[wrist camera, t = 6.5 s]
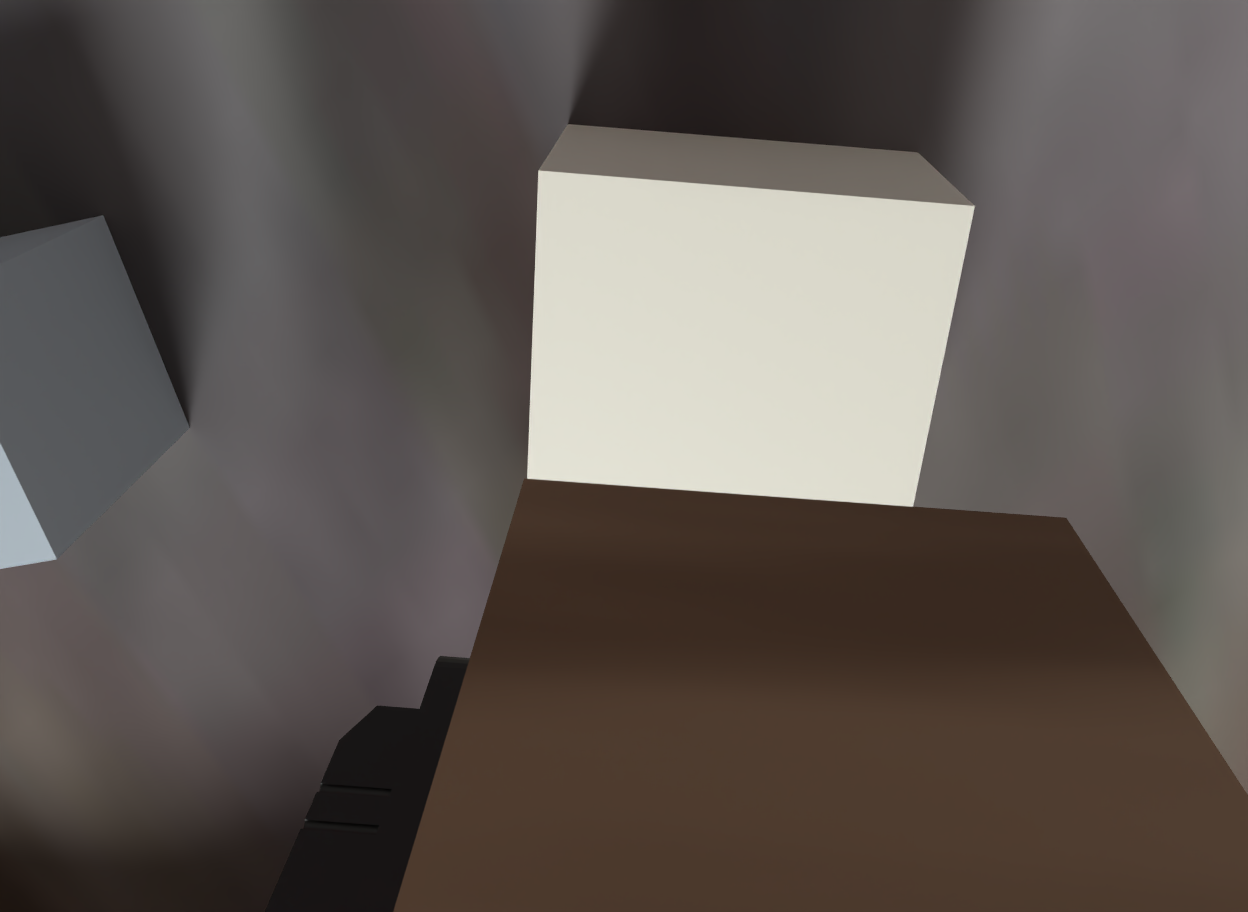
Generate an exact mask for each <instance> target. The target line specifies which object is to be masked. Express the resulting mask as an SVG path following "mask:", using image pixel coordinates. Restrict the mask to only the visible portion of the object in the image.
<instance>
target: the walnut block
mask: <svg viewBox="0 0 1248 912" xmlns="http://www.w3.org/2000/svg"><path fill="white" fill-rule="evenodd" d="M393 912H1248V795H1247V793H1246V792H1245V790H1244V789H1243V787H1242V786H1241V784H1240V783H1239V781H1238V780H1237V778H1236V777H1235V775H1234V773H1233V772H1232V770H1231V769H1230V767H1229V766H1228V764H1227V763H1226V761H1225V760H1224V758H1223V757H1222V755H1221V754H1220V752H1219V751H1218V749H1217V747H1216V746H1215V744H1214V743H1213V741H1212V740H1211V738H1210V737H1209V735H1208V734H1207V732H1206V731H1205V729H1204V728H1203V726H1202V725H1201V723H1200V722H1199V720H1198V718H1197V717H1196V715H1195V714H1194V712H1193V711H1192V709H1191V708H1190V706H1189V705H1188V703H1187V702H1186V700H1185V699H1184V697H1183V696H1182V694H1181V692H1180V691H1179V689H1178V688H1177V686H1176V685H1175V683H1174V682H1173V680H1172V679H1171V677H1170V676H1169V674H1168V673H1167V671H1166V670H1165V668H1164V667H1163V665H1162V663H1161V662H1160V660H1159V659H1158V657H1157V656H1156V654H1155V653H1154V651H1153V650H1152V648H1151V647H1150V645H1149V644H1148V642H1147V641H1146V639H1145V637H1144V636H1143V634H1142V633H1141V631H1140V630H1139V628H1138V627H1137V625H1136V624H1135V622H1134V621H1133V619H1132V618H1131V616H1130V615H1129V613H1128V612H1127V610H1126V608H1125V607H1124V605H1123V604H1122V602H1121V601H1120V599H1119V598H1118V596H1117V595H1116V593H1115V592H1114V590H1113V589H1112V587H1111V586H1110V584H1109V582H1108V581H1107V579H1106V578H1105V576H1104V575H1103V573H1102V572H1101V570H1100V569H1099V567H1098V566H1097V564H1096V563H1095V561H1094V560H1093V558H1092V557H1091V555H1090V553H1089V552H1088V550H1087V549H1086V547H1085V546H1084V544H1083V543H1082V541H1081V540H1080V538H1079V537H1078V535H1077V534H1076V532H1075V531H1074V529H1073V527H1072V526H1071V524H1070V523H1069V521H1068V520H1067V518H1061V517H1047V516H1033V515H1020V514H1006V513H992V512H978V511H965V510H951V509H937V508H923V507H910V506H896V505H882V504H868V503H855V502H841V501H827V500H813V499H800V498H786V497H772V496H759V495H745V494H731V493H717V492H704V491H690V490H676V489H662V488H649V487H635V486H621V485H607V484H594V483H580V482H566V481H552V480H539V479H525V478H524V481H523V484H522V488H521V491H520V494H519V498H518V501H517V504H516V508H515V511H514V514H513V518H512V521H511V524H510V527H509V531H508V534H507V537H506V541H505V544H504V547H503V551H502V554H501V557H500V560H499V564H498V567H497V570H496V574H495V577H494V580H493V584H492V587H491V590H490V594H489V597H488V600H487V603H486V607H485V610H484V613H483V617H482V620H481V623H480V627H479V630H478V633H477V637H476V640H475V643H474V646H473V650H472V653H471V656H470V660H469V663H468V666H467V670H466V673H465V676H464V680H463V683H462V686H461V689H460V693H459V696H458V699H457V703H456V706H455V709H454V713H453V716H452V719H451V723H450V726H449V729H448V732H447V736H446V739H445V742H444V746H443V749H442V752H441V756H440V759H439V762H438V766H437V769H436V772H435V775H434V779H433V782H432V785H431V789H430V792H429V795H428V799H427V802H426V805H425V808H424V812H423V815H422V818H421V822H420V825H419V828H418V832H417V835H416V838H415V842H414V845H413V848H412V851H411V855H410V858H409V861H408V865H407V868H406V871H405V875H404V878H403V881H402V885H401V888H400V891H399V894H398V898H397V901H396V904H395V908H394V911H393Z"/></svg>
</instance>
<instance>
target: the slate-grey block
mask: <svg viewBox="0 0 1248 912" xmlns="http://www.w3.org/2000/svg"><path fill="white" fill-rule="evenodd" d="M189 428H190V427H189V425H188V422H187V420H186V417H185V415H184V412H183V410H182V408H181V405H180V403H179V400H178V398H177V395H176V393H175V390H174V388H173V385H172V383H171V381H170V378H169V376H168V373H167V371H166V368H165V366H164V363H163V361H162V358H161V356H160V354H159V351H158V349H157V346H156V344H155V341H154V339H153V336H152V334H151V331H150V329H149V327H148V324H147V322H146V319H145V317H144V314H143V312H142V309H141V307H140V304H139V302H138V300H137V297H136V295H135V292H134V290H133V287H132V285H131V282H130V280H129V277H128V275H127V272H126V270H125V268H124V265H123V263H122V260H121V258H120V255H119V253H118V250H117V248H116V245H115V243H114V241H113V238H112V236H111V233H110V231H109V228H108V226H107V223H106V221H105V218H104V216H103V215H102V216H97V217H93V218H88V219H83V220H79V221H74V222H69V223H65V224H60V225H55V226H51V227H46V228H41V229H37V230H32V231H27V232H23V233H18V234H13V235H9V236H4V237H0V569H2V568H8V567H14V566H20V565H26V564H32V563H38V562H43V561H49V560H55V559H58V558H59V557H60V556H61V555H62V554H63V553H64V552H65V551H66V550H67V549H68V548H69V547H70V546H71V545H72V544H73V543H74V542H75V541H76V540H77V539H78V538H79V537H80V536H81V535H82V534H83V533H84V532H85V531H86V530H87V529H88V528H89V527H90V526H91V525H92V524H93V523H94V522H95V521H96V520H97V519H98V518H99V517H100V516H101V515H102V514H103V513H104V512H105V511H106V510H107V509H108V508H109V507H110V506H111V505H112V504H113V503H114V502H115V501H116V500H117V499H118V498H119V497H120V496H121V495H122V494H123V493H124V492H125V491H126V490H127V489H128V488H129V487H130V486H131V485H132V484H133V483H134V482H135V481H136V480H137V479H139V478H140V477H141V476H142V475H143V474H144V473H145V472H146V471H147V470H148V469H149V468H150V467H151V466H152V465H153V464H154V463H155V462H156V461H157V460H158V459H159V458H160V457H161V456H162V455H163V454H164V453H165V452H166V451H167V450H168V449H169V448H170V447H171V446H172V445H173V444H174V443H175V442H176V441H177V440H178V439H179V438H180V437H181V436H182V435H183V434H184V433H185V432H186V431H187V430H188V429H189Z"/></svg>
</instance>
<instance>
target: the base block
mask: <svg viewBox="0 0 1248 912" xmlns="http://www.w3.org/2000/svg"><path fill="white" fill-rule="evenodd" d="M974 208H975V206H974V205H973V204H972V203H971V202H970V201H969V200H968V199H967V198H966V197H965V196H964V195H963V194H962V193H960V192H959V191H958V190H957V189H956V188H955V187H954V186H953V185H952V184H951V183H950V182H949V181H948V180H947V179H946V178H945V177H943V176H942V175H941V174H940V173H939V172H938V171H937V170H936V169H935V168H934V167H933V166H932V165H931V164H930V163H929V162H928V161H927V160H925V159H924V158H923V157H922V156H921V155H920V154H919V153H918V152H907V151H895V150H883V149H870V148H858V147H846V146H833V145H821V144H808V143H796V142H784V141H771V140H759V139H746V138H734V137H722V136H709V135H697V134H684V133H672V132H660V131H647V130H635V129H623V128H610V127H598V126H585V125H573V124H568V125H567V126H566V128H565V130H564V131H563V133H562V134H561V136H560V137H559V139H558V141H557V142H556V144H555V145H554V147H553V149H552V150H551V152H550V153H549V155H548V156H547V158H546V160H545V161H544V163H543V164H542V166H541V168H540V169H539V174H538V201H537V228H536V256H535V283H534V310H533V337H532V365H531V392H530V419H529V447H528V474H527V479H539V480H552V481H566V482H580V483H594V484H607V485H621V486H635V487H649V488H662V489H676V490H690V491H704V492H717V493H731V494H745V495H759V496H772V497H786V498H800V499H813V500H827V501H841V502H855V503H868V504H882V505H896V506H910V507H913V504H914V499H915V494H916V489H917V484H918V480H919V475H920V470H921V465H922V460H923V455H924V450H925V446H926V441H927V436H928V431H929V426H930V421H931V417H932V412H933V407H934V402H935V397H936V392H937V387H938V383H939V378H940V373H941V368H942V363H943V358H944V353H945V349H946V344H947V339H948V334H949V329H950V324H951V319H952V315H953V310H954V305H955V300H956V295H957V290H958V286H959V281H960V276H961V271H962V266H963V261H964V256H965V252H966V247H967V242H968V237H969V232H970V227H971V222H972V218H973V213H974Z"/></svg>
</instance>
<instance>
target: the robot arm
mask: <svg viewBox="0 0 1248 912" xmlns="http://www.w3.org/2000/svg"><path fill="white" fill-rule="evenodd" d="M469 660H470V658H460V657H447V656H440V657H439V658H438V659H437V661H436V664H435V666H434V669H433V672H432V675H431V678H430V680H429V683H428V686H427V689H426V692H425V695H424V698H423V701H422V703H421V706H420V709H414V708H401V707H388V706H376V707H375V708H374V709H373V710H372V711H371V712H370V713H369V714H368V715H367V716H365V717H364V718H363V719H362V720H361V721H360V722H359V723H358V724H357V725H356V726H355V727H353V728H352V729H351V730H350V731H349V732H348V733H347V734H346V735H345V736H344V737H343V738H341V739H340V740H339V742H338V745H337V747H336V749H335V752H334V754H333V756H332V758H331V761H330V763H329V765H328V768H327V770H326V772H325V775H324V777H323V779H322V781H321V787H320V792H317V793H316V795H315V798H314V800H313V802H312V805H311V807H310V809H309V811H308V814H307V816H306V818H305V825H304V829H301V830H300V832H299V835H298V837H297V839H296V841H295V844H294V846H293V848H292V851H291V853H290V855H289V858H288V860H287V862H286V864H285V867H284V869H283V871H282V874H281V876H280V878H279V881H278V883H277V885H276V888H275V890H274V892H273V894H272V897H271V899H270V901H269V904H268V906H267V908H266V911H265V912H393V911H394V908H395V904H396V901H397V898H398V894H399V891H400V888H401V885H402V881H403V878H404V875H405V871H406V868H407V865H408V861H409V858H410V855H411V851H412V848H413V845H414V842H415V838H416V835H417V832H418V828H419V825H420V822H421V818H422V815H423V812H424V808H425V805H426V802H427V799H428V795H429V792H430V789H431V785H432V782H433V779H434V775H435V772H436V769H437V766H438V762H439V759H440V756H441V752H442V749H443V746H444V742H445V739H446V736H447V732H448V729H449V726H450V723H451V719H452V716H453V713H454V709H455V706H456V703H457V699H458V696H459V693H460V689H461V686H462V683H463V680H464V676H465V673H466V670H467V666H468V663H469Z"/></svg>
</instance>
